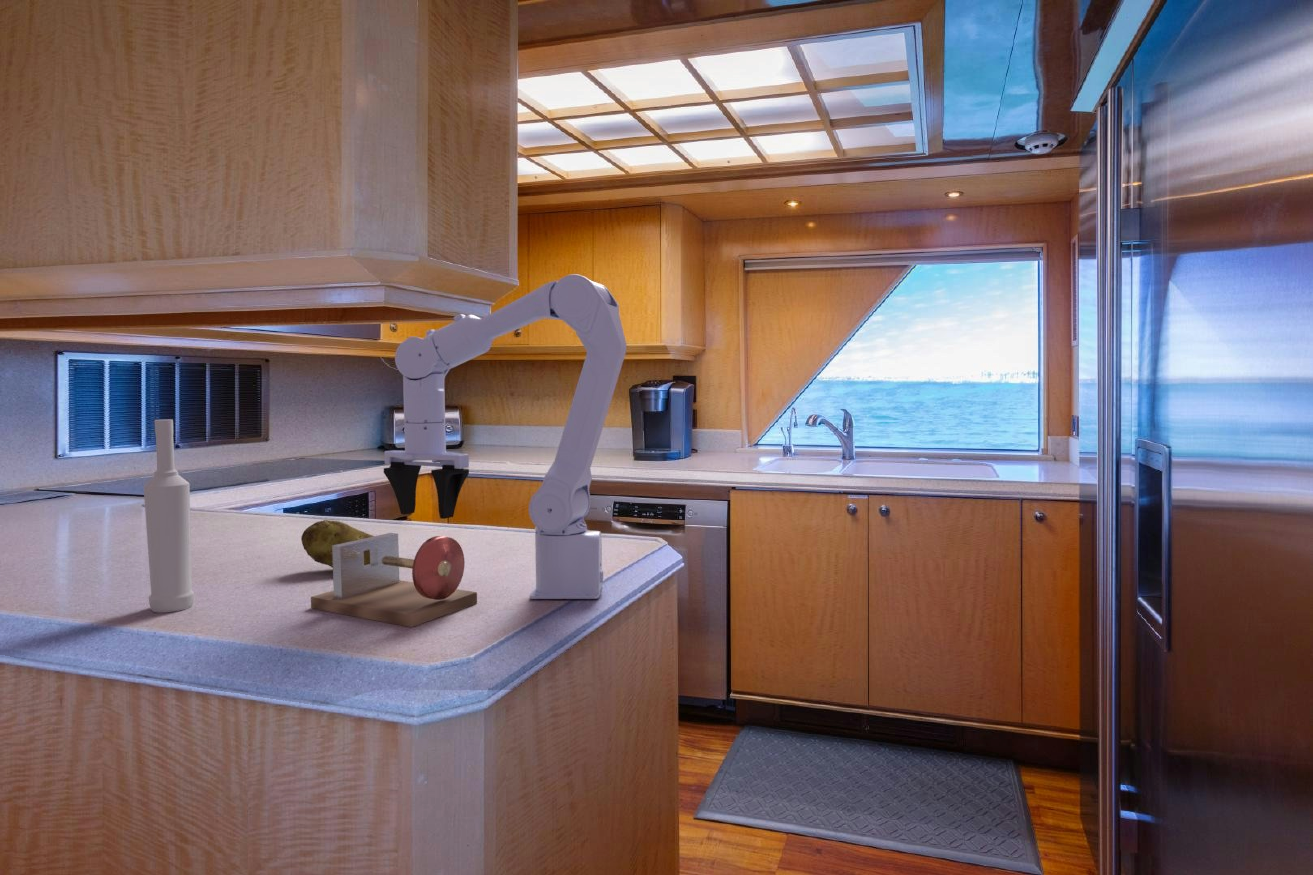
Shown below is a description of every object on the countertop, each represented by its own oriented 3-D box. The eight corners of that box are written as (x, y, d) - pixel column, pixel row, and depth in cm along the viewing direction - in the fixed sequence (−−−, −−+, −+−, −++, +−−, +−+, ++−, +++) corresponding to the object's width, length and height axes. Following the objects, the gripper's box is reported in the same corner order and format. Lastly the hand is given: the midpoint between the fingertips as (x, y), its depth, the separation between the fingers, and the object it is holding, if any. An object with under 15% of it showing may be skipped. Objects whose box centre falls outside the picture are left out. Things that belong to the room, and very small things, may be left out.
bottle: (185, 599, 111) (177, 418, 109) (201, 606, 107) (193, 419, 106) (143, 608, 107) (134, 420, 105) (158, 615, 103) (149, 421, 102)
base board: (311, 607, 107) (310, 596, 106) (381, 587, 117) (380, 577, 117) (411, 627, 98) (411, 615, 98) (477, 603, 109) (476, 592, 109)
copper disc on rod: (360, 596, 105) (358, 535, 104) (405, 582, 112) (404, 525, 111) (423, 607, 100) (421, 543, 99) (466, 592, 107) (465, 532, 106)
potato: (372, 577, 123) (370, 526, 123) (294, 575, 125) (292, 524, 124) (397, 565, 131) (395, 516, 131) (323, 563, 133) (321, 515, 132)
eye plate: (333, 598, 106) (332, 545, 105) (391, 581, 115) (390, 532, 114) (341, 599, 105) (340, 546, 105) (399, 582, 114) (398, 533, 113)
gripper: (367, 422, 116) (369, 515, 117) (443, 424, 109) (445, 523, 110) (403, 420, 122) (406, 508, 123) (478, 422, 116) (479, 516, 116)
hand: (427, 515), depth 117 cm, fingers open, 7 cm apart
